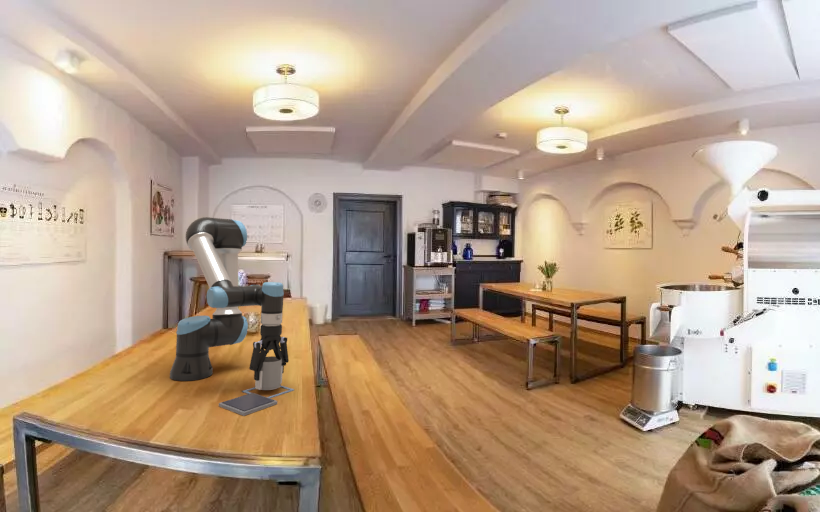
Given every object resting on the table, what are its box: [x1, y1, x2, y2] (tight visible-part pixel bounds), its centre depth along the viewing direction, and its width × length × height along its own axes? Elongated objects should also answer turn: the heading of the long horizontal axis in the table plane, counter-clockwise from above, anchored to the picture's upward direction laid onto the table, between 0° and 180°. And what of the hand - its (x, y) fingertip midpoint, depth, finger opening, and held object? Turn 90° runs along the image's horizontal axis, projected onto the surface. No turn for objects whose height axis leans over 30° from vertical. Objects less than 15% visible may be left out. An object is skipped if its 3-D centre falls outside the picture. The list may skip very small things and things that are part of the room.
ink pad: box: [218, 392, 278, 417], centre depth 135 cm, size 13×13×1 cm
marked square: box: [241, 385, 295, 399], centre depth 149 cm, size 13×13×1 cm
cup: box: [260, 355, 282, 391], centre depth 149 cm, size 8×8×10 cm
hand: (268, 385), depth 149 cm, fingers closed on cup, 8 cm apart
